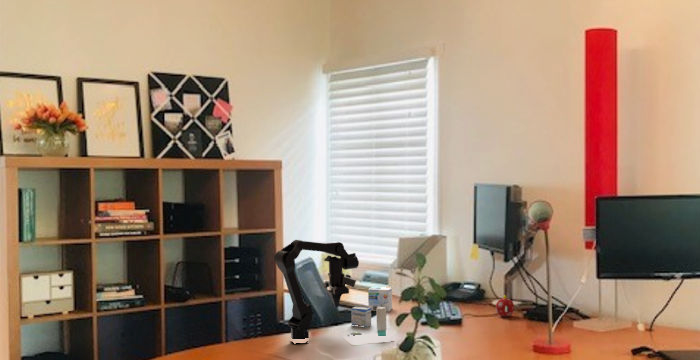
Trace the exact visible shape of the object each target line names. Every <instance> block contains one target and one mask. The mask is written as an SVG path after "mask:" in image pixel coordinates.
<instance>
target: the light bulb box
mask: <svg viewBox="0 0 700 360" xmlns="http://www.w3.org/2000/svg"><path fill="white" fill-rule="evenodd" d="M367 294H368V296H367V297H368V307H367V308H371V312H372V311H373V312H377V311H376V308H378V307H385V308H386V312H391V310H392V309H393V288H392V287H391V286H389V287H388V286H387V287H385V286H371V287H369V288H368V293H367Z"/></svg>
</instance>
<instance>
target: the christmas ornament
mask: <svg viewBox="0 0 700 360" xmlns="http://www.w3.org/2000/svg"><path fill="white" fill-rule="evenodd" d="M495 303H496V304H495V311H496V313H497V314H498V315H499V316H501V317H504V318H507V317H509V316H512V315H513V313H514V311H515V309H516V308H515V303H514V302H513V301H512V300H511V299H510V298H508V297H507V296H506V294H504V295H503V298H500V299H499V300H498V301H496V302H495Z"/></svg>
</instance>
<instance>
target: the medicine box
mask: <svg viewBox="0 0 700 360" xmlns="http://www.w3.org/2000/svg"><path fill="white" fill-rule="evenodd" d="M350 312H351V313H350V314H351V326H352V325H358V326H364V327H363V328H365V327H367V328H369V327H368V326H370V327H371V326H372V311H371V308H369V307H363V306H354V307H352V308H351V311H350Z"/></svg>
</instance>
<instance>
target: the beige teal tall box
mask: <svg viewBox="0 0 700 360" xmlns="http://www.w3.org/2000/svg"><path fill="white" fill-rule="evenodd" d="M375 312H376V330H377V331H376V332H378V336H386V331H387V311H386V308H385V307H378V308H376V311H375Z"/></svg>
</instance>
